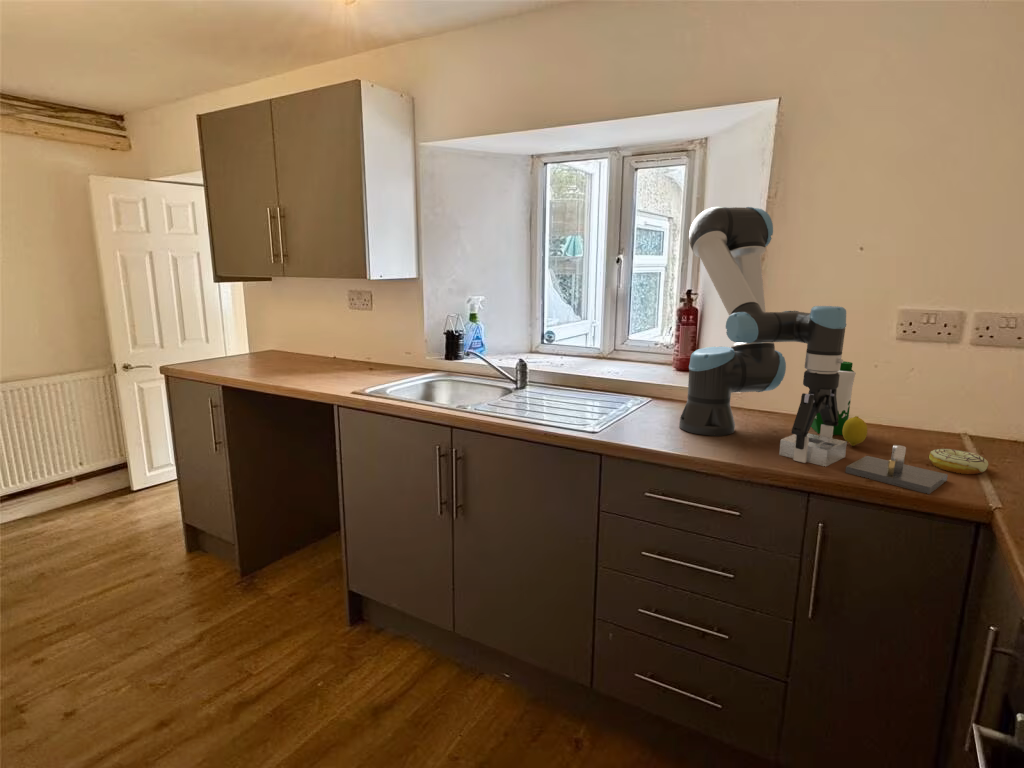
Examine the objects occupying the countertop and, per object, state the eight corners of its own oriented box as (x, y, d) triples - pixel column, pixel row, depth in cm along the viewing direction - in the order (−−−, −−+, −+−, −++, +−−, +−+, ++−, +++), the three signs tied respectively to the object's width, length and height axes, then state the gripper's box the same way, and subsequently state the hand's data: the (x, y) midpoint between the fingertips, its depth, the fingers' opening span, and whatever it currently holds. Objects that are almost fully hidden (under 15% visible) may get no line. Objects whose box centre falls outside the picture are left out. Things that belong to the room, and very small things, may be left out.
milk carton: (850, 436, 156) (859, 365, 152) (815, 434, 158) (823, 364, 154) (839, 427, 164) (847, 360, 160) (805, 426, 166) (813, 359, 162)
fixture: (845, 472, 128) (849, 443, 127) (866, 461, 136) (869, 433, 134) (929, 494, 116) (934, 461, 115) (946, 480, 123) (951, 450, 122)
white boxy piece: (779, 454, 140) (780, 439, 140) (799, 446, 147) (801, 431, 146) (825, 466, 132) (827, 450, 131) (844, 457, 139) (846, 441, 138)
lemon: (842, 441, 152) (846, 412, 150) (866, 445, 148) (870, 415, 146) (838, 446, 147) (842, 416, 146) (863, 450, 144) (867, 420, 142)
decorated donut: (995, 479, 125) (998, 463, 124) (938, 473, 128) (940, 457, 128) (974, 463, 135) (977, 448, 134) (922, 458, 138) (924, 444, 137)
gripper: (815, 379, 125) (804, 470, 129) (859, 367, 140) (849, 449, 144) (781, 374, 130) (772, 462, 135) (827, 363, 146) (818, 442, 150)
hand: (812, 455), depth 139 cm, fingers open, 13 cm apart
